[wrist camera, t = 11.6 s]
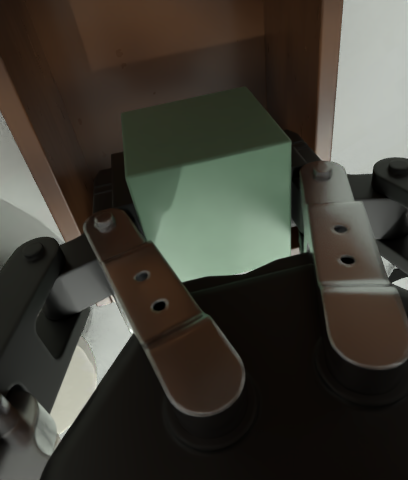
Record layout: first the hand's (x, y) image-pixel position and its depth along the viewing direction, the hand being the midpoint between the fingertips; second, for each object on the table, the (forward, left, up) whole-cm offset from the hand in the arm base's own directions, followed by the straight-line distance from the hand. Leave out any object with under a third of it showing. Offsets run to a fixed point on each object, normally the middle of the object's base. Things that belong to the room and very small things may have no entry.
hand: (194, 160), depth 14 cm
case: (0, 0, -8) cm, 8 cm away
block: (0, 0, 0) cm, 0 cm away
